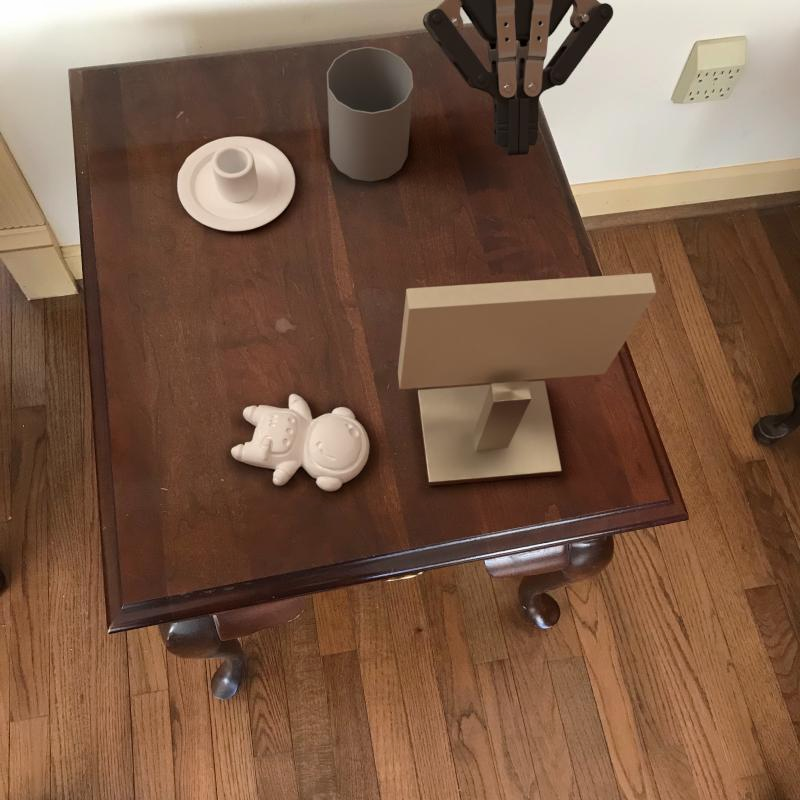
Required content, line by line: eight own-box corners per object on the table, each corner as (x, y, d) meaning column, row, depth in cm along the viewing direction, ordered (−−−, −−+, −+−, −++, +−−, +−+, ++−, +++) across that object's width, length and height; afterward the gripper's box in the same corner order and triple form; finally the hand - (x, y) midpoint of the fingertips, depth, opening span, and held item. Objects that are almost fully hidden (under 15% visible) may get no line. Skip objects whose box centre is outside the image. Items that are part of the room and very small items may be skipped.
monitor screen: (397, 370, 68) (406, 286, 56) (600, 355, 69) (651, 270, 57) (399, 389, 67) (408, 308, 55) (604, 374, 69) (656, 292, 57)
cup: (389, 191, 87) (393, 124, 78) (317, 165, 88) (312, 96, 79) (418, 133, 91) (425, 62, 81) (348, 109, 91) (348, 36, 82)
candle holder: (159, 168, 87) (150, 139, 83) (262, 125, 90) (258, 96, 86) (209, 253, 83) (202, 227, 79) (316, 205, 86) (314, 178, 82)
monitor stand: (416, 394, 78) (427, 333, 67) (542, 385, 79) (572, 323, 68) (428, 486, 74) (440, 437, 63) (559, 475, 76) (594, 425, 64)
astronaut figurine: (255, 386, 78) (252, 372, 75) (379, 420, 77) (380, 407, 74) (223, 472, 74) (217, 460, 71) (352, 508, 73) (352, 498, 71)
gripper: (421, -146, 48) (429, 164, 55) (643, -150, 49) (625, 154, 56) (407, -118, 55) (415, 154, 62) (602, -122, 56) (590, 145, 63)
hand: (515, 153), depth 59 cm, fingers closed
